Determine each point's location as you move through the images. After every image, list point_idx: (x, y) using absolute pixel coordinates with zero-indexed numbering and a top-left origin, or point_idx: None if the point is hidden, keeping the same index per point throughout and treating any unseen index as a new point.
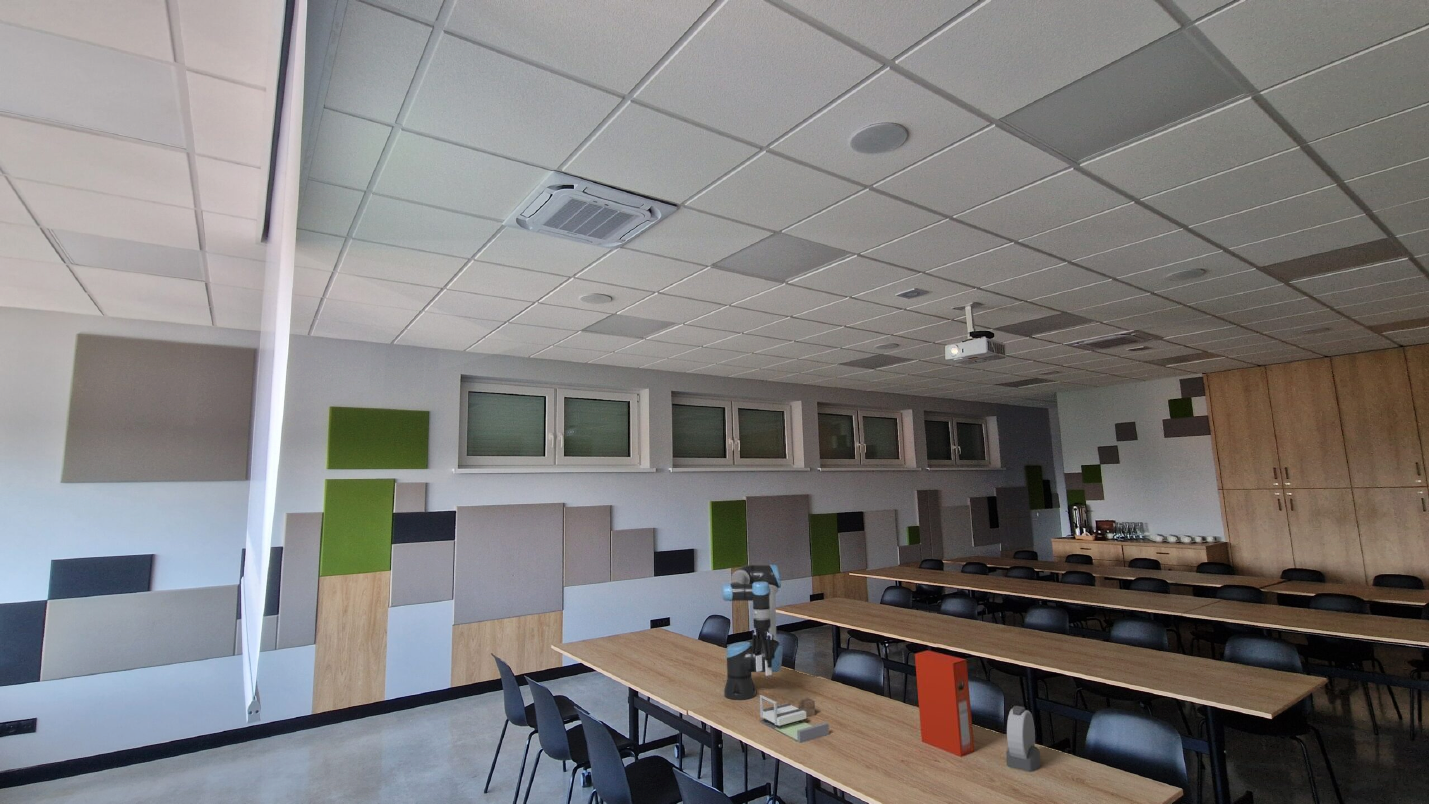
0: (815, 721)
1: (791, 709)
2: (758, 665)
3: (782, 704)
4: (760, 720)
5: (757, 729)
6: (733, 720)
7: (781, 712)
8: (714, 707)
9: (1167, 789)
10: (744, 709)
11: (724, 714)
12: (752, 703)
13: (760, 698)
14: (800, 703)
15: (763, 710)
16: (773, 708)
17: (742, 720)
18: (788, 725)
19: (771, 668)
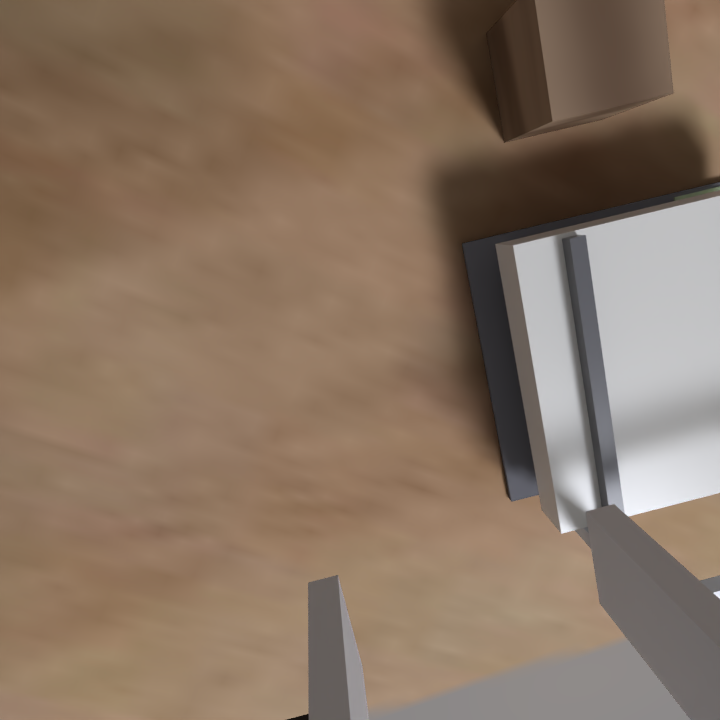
0: (715, 88)
1: (679, 278)
2: (362, 717)
3: (522, 301)
4: (513, 490)
5: None
6: (418, 654)
7: (698, 391)
8: (99, 713)
9: None
10: (225, 521)
11: (277, 681)
12: (101, 416)
13: None
14: (578, 118)
15: (584, 513)
16: (609, 431)
17: (444, 600)
18: None
19: (670, 556)
